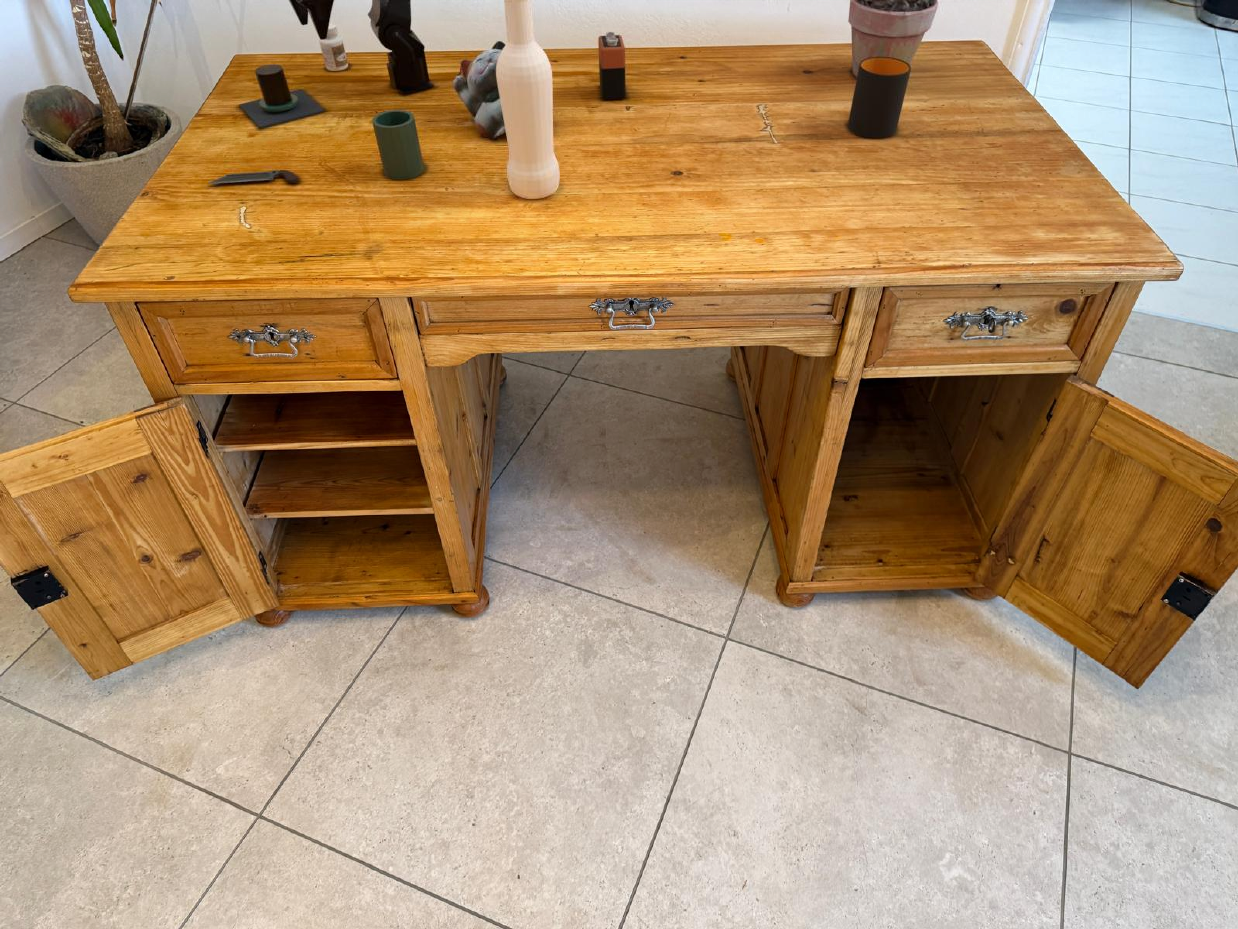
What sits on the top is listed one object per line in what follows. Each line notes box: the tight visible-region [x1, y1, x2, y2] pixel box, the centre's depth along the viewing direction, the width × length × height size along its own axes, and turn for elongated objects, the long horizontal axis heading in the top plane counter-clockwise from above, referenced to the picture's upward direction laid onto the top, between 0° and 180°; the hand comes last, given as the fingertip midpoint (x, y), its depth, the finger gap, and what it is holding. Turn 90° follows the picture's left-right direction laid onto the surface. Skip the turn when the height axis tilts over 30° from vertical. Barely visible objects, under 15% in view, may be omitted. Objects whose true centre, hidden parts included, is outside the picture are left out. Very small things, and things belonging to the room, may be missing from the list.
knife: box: [208, 169, 299, 185], centre depth 129 cm, size 14×4×1 cm, turn 97°
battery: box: [597, 31, 627, 101], centre depth 148 cm, size 4×7×10 cm, turn 6°
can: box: [371, 109, 425, 181], centre depth 129 cm, size 6×6×8 cm
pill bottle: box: [319, 22, 349, 72], centre depth 160 cm, size 4×4×8 cm
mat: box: [238, 88, 325, 130], centre depth 149 cm, size 12×12×1 cm
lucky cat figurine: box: [451, 40, 506, 140], centre depth 139 cm, size 15×12×14 cm
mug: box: [847, 57, 912, 140], centre depth 138 cm, size 8×12×10 cm
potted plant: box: [847, 0, 939, 78], centre depth 148 cm, size 18×20×25 cm
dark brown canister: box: [254, 63, 299, 112], centre depth 146 cm, size 7×7×7 cm
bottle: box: [496, 0, 561, 200], centre depth 116 cm, size 8×8×30 cm
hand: (313, 31), depth 143 cm, fingers open, 9 cm apart
